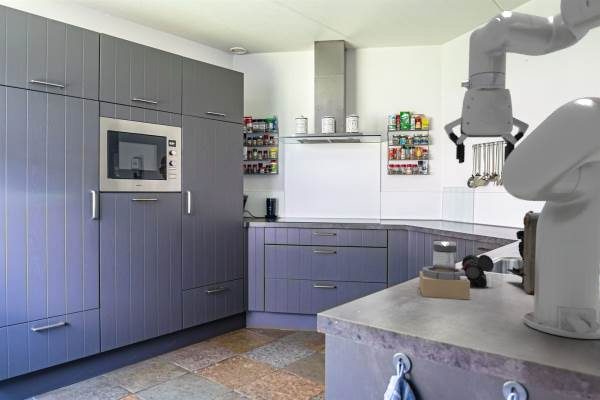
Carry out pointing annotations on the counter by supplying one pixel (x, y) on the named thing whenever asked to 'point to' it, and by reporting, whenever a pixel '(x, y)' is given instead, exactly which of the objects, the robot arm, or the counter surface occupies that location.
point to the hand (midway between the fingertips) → (484, 163)
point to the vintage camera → (527, 251)
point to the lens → (444, 256)
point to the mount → (444, 284)
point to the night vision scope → (477, 268)
